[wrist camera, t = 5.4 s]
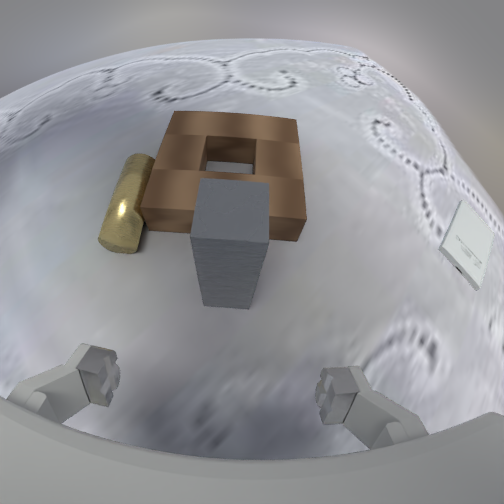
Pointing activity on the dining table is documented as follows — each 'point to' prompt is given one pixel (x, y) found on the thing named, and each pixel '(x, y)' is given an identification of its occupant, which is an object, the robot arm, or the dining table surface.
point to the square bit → (230, 240)
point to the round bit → (127, 206)
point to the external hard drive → (468, 244)
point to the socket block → (227, 150)
